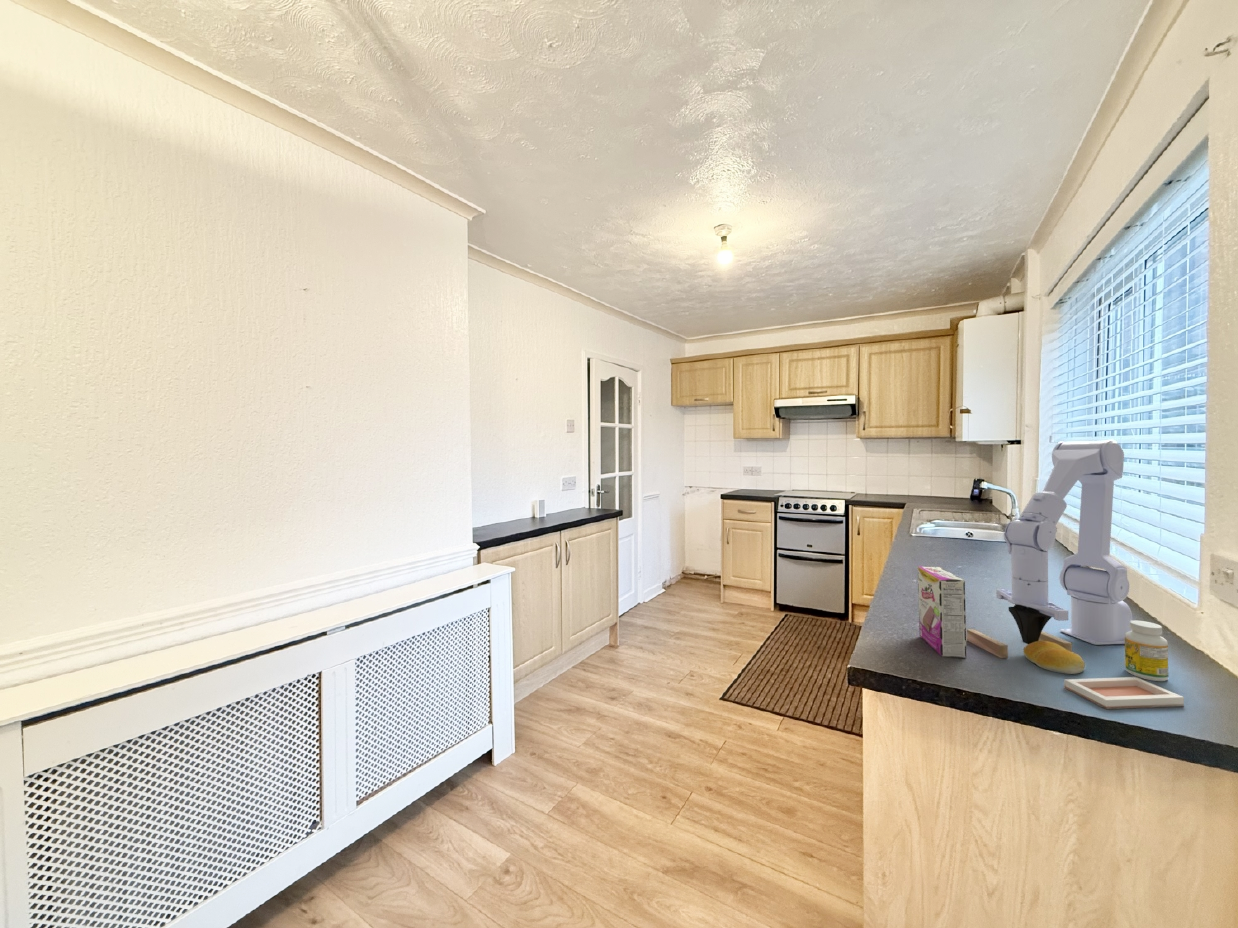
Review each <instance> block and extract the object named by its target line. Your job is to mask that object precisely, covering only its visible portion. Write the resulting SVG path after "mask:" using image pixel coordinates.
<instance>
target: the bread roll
mask: <svg viewBox="0 0 1238 928" xmlns="http://www.w3.org/2000/svg"><path fill="white" fill-rule="evenodd" d="M1023 654H1024V656H1025V658H1026V659H1027V660H1029V661H1030V662H1032V663H1033V664H1036V665H1037V666H1038V667H1039V668H1041V669H1044V670H1047V671H1049V672H1056V673H1060V674H1066V675H1077V674H1079V673H1083V672H1084V670H1085V668H1086V664H1085V661H1084V660H1083V658H1082V657H1081V656H1080V655H1079V654H1077V653H1076V652H1074V651H1072V652H1070V651H1068V650H1066V649H1065V648H1063V647H1062V646H1060V645H1058V644H1056V643H1053V642H1049V641H1035V642H1033V643H1030V644H1026V645H1025V647H1024V648H1023Z"/></svg>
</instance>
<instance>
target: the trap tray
mask: <svg viewBox="0 0 1238 928" xmlns="http://www.w3.org/2000/svg"><path fill="white" fill-rule="evenodd" d="M1064 689H1066V690H1068V691H1070V692H1072V693H1074V694H1075V695H1078V696H1080V697H1082V698H1084V699H1086V700H1088V701H1089V700H1090V701H1089V702H1091V703H1094V704H1095V705H1097V706H1099V707H1101V708H1103V709H1105V710H1117V709H1119V710H1120V709H1122V710H1123V709H1143V708H1147V709H1149V708H1169V707H1170V708H1173V707H1175V708H1176V707H1185V697H1184V696H1182V695H1179V694H1177V693H1175V692H1172V691H1170V690H1168V689H1166V688H1163V687H1161V686H1159V685H1156V684H1154V683H1152V682H1148V681H1147V680H1145V679H1144V680H1143V678H1140V677H1137V676H1127V677H1125V676H1124V677H1123V676H1122V677H1099V678H1097V677H1096V678H1071V679H1067V678H1066V679H1064Z"/></svg>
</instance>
